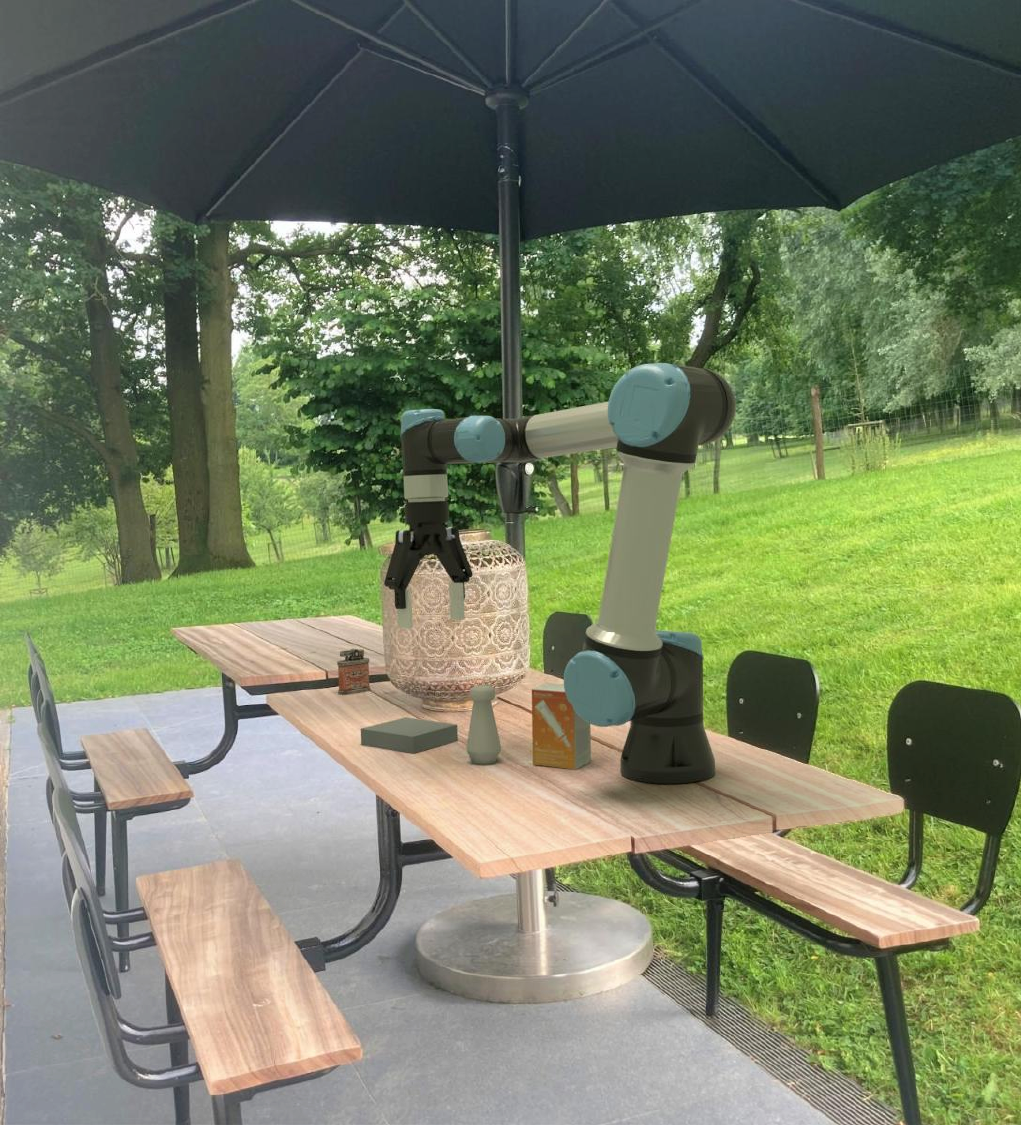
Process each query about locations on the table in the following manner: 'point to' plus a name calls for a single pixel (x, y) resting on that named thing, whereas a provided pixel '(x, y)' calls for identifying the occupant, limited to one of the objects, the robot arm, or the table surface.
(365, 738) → the block
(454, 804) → the table surface
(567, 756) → the small box
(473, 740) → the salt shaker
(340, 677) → the lighter
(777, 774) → the table surface
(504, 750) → the table surface
